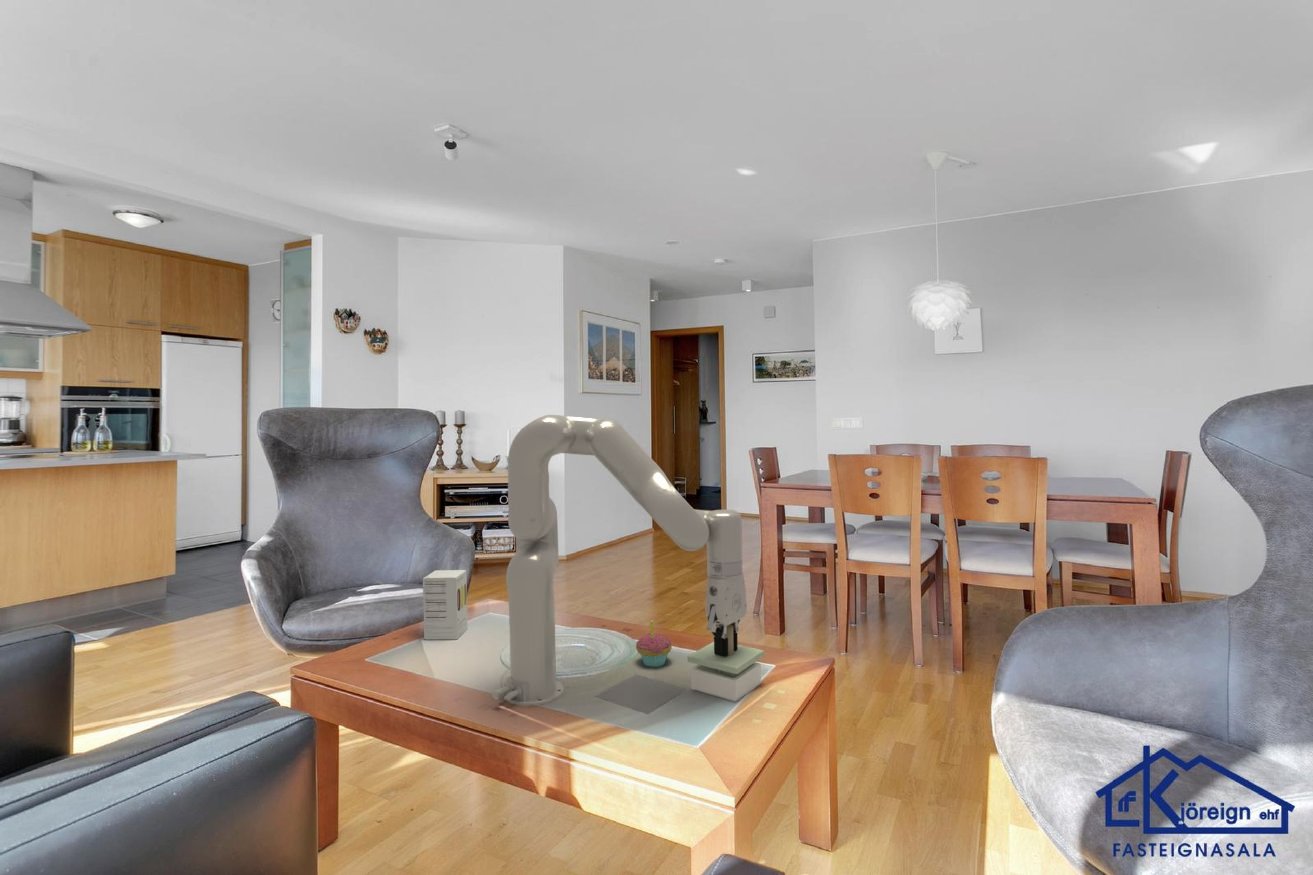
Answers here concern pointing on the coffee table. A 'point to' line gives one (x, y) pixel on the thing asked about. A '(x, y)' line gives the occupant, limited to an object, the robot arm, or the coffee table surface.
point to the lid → (733, 661)
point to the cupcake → (653, 648)
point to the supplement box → (445, 604)
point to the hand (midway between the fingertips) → (725, 651)
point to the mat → (641, 693)
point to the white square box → (725, 681)
